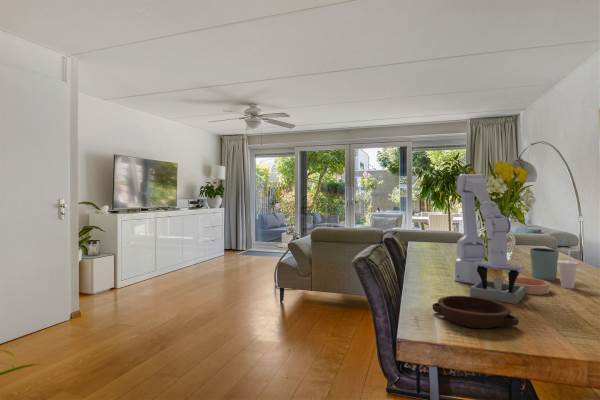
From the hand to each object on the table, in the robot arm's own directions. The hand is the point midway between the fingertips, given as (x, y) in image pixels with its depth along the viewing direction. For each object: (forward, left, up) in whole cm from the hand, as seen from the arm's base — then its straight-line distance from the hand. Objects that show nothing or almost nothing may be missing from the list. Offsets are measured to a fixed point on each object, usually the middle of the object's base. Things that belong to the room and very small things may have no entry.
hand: (497, 289), depth 121 cm
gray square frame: (0, 0, -2) cm, 2 cm away
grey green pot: (+8, +42, -2) cm, 43 cm away
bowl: (+6, +16, -2) cm, 17 cm away
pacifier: (0, 0, -2) cm, 2 cm away
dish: (+1, -32, -2) cm, 32 cm away
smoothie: (+17, +29, -2) cm, 34 cm away
